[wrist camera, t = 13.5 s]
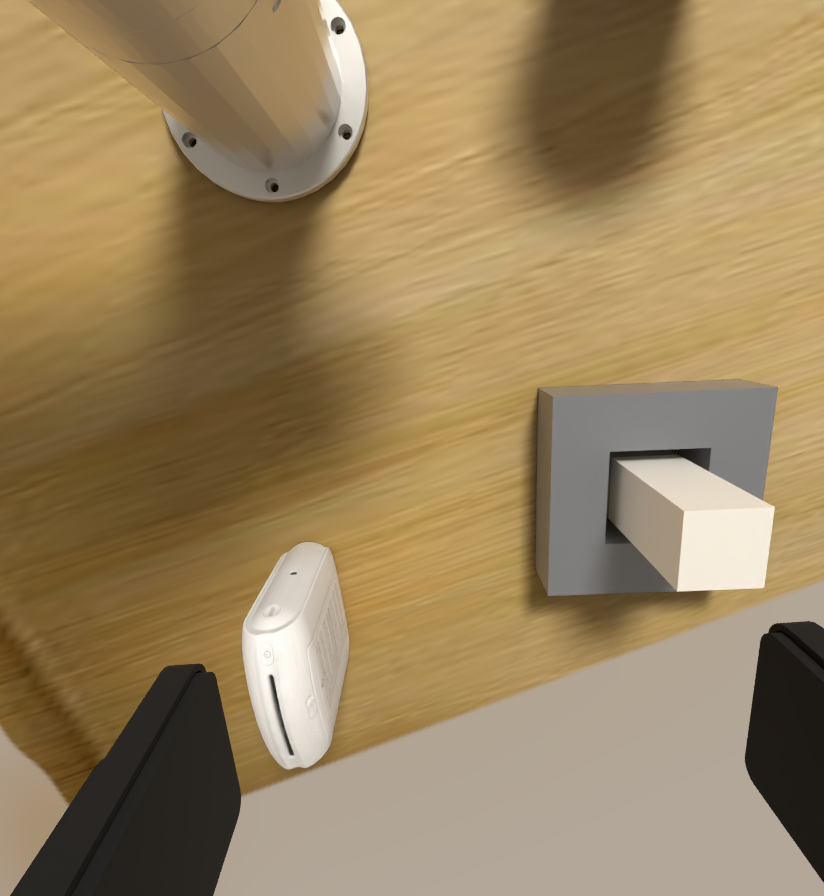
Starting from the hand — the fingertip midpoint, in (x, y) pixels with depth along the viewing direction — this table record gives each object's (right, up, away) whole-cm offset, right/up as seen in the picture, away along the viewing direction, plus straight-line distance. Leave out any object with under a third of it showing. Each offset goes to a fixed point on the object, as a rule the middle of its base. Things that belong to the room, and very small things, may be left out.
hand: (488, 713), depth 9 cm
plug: (+15, +2, +29) cm, 33 cm away
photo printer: (-9, -7, +32) cm, 34 cm away
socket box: (+15, +2, +29) cm, 33 cm away
